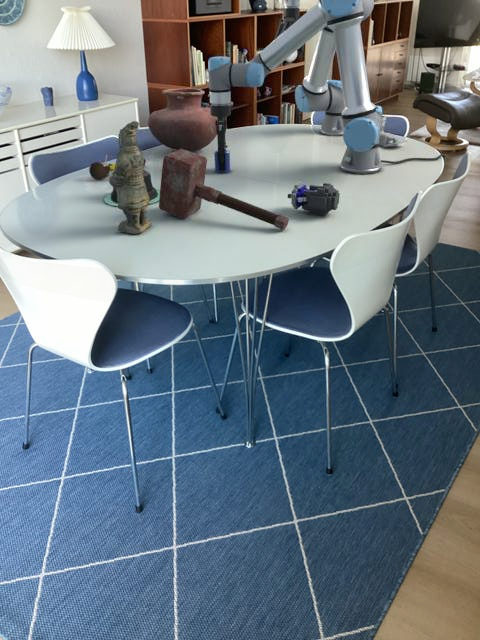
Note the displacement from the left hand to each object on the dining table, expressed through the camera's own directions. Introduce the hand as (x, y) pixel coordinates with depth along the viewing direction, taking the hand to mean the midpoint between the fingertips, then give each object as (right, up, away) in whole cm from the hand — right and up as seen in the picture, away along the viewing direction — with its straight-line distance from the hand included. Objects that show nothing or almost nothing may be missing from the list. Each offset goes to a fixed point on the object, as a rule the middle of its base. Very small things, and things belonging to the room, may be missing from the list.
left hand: (290, 57), depth 271 cm
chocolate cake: (-60, -87, -84) cm, 135 cm away
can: (-31, -72, -58) cm, 97 cm away
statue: (-55, -102, -110) cm, 160 cm away
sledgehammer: (-29, -99, -105) cm, 147 cm away
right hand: (-31, -70, -59) cm, 97 cm away
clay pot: (-48, -55, -30) cm, 79 cm away
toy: (-2, -96, -101) cm, 139 cm away
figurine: (-72, -72, -58) cm, 117 cm away
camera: (+39, -52, -29) cm, 72 cm away
